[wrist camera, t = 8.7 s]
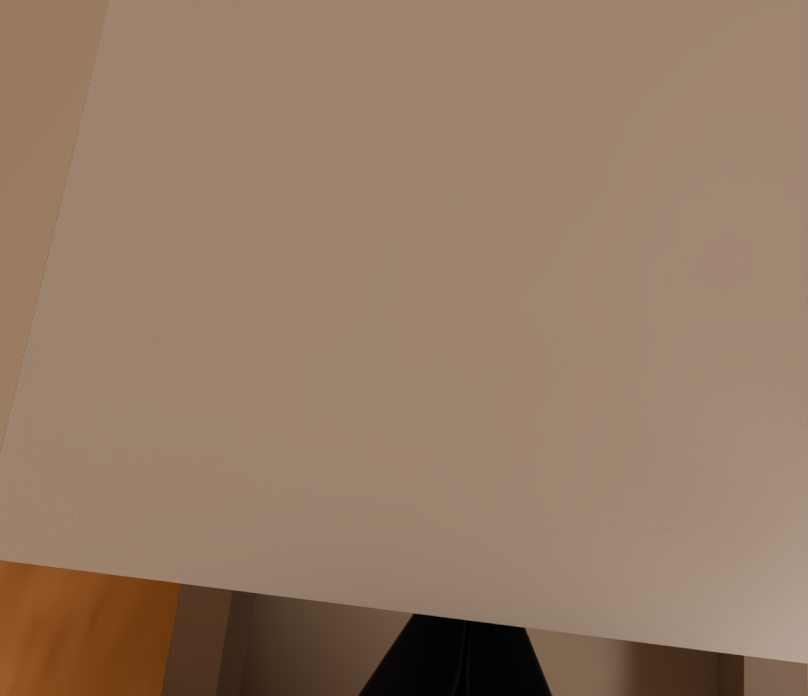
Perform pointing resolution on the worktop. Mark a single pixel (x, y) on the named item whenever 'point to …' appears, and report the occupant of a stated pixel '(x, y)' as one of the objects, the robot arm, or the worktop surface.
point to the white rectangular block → (435, 315)
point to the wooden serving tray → (378, 629)
